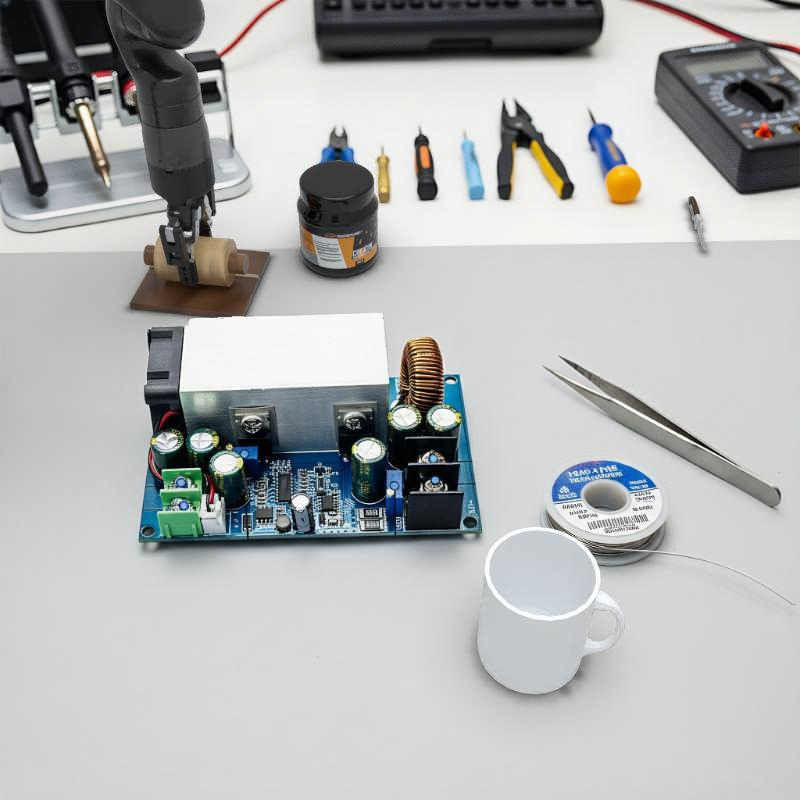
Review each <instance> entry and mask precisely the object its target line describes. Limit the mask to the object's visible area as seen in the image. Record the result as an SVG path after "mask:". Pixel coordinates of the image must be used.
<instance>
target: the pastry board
mask: <svg viewBox="0 0 800 800" xmlns="http://www.w3.org/2000/svg"><path fill="white" fill-rule="evenodd" d="M237 253H240V254H247V255H248V257H249V268H248V272H247V274H246V275H241V274H236V275H235V279H234V281H233V284H232V285H231V286H230V287H225V286H215V285H205V284H197V285H196V286H188V285H182V284H181V283H180V282H175V281H165V280H159V279H158V278H157V276H156V274H155V270H154V266H150V265H149V269H148V270H147V272H146V274H145V276H144V277H143V279H142V280H141V283H140V284H139V286H138V288H137V289H136V291H135V293H134V294H133V296H132V298H131V300H130V302H129V305H130V306H129V307H130V309H131V310H137V311H145V312H157V313H165V314H176V315H187V316H196V317H205V318H214V317H232V316H245V317H246V315H247V313H248V310H249V308H250V306H251V304H252V301H253V299H254V297H255V294H256V292H257V289H258V288H259V285H260V283H261V280H262V278H263V276H264V273H265V271H266V269H267V266H268V265H269V262H270V259H271V253H270V251H262V250H253V249H252V250H251V249H238V248H237Z"/></svg>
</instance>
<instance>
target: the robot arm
mask: <svg viewBox="0 0 800 800" xmlns="http://www.w3.org/2000/svg"><path fill="white" fill-rule="evenodd" d="M105 12H106V18H107V23H108V26H109V28H110V32H111V34H112V37H113V39H114V42H115V44H116V46H117V48H118V51H119V53H120V55H121V59H122V60H123V62H124V64H125V66H126V68H127V70H128V73H129V74H130V77H131V78H132V80H133V83H134V86H135V91H136V92H135V93H136V99H137V104H138V110H139V115H140V120H141V121H140V122H141V136H142V137H141V138H142V143H143V147H144V152H145V153H144V154H145V160H146V165H147V170H148V175H149V179H150V185H151V189H152V191H153V192H154V193H155V194H156V195H158V196H159V197H161V198H162V199H163V200H164V201H165V202H166V203H167V204H166V218H167V219H168V220H167V221H168V222H167V225H166V224H160V225H159V228H158V234H159V235H160V239H161V242H162V246H163V250H164V254H165V257H166V261H167V265H170V266H172V265H173V266H177V268H178V273H179V279H180V283H181V284H182V285H188V286H196V285H197V283H198V281H199V279H198V273H197V267H196V261H195V243H197V242H198V241H199V236H205V237H213V234H212V233H213V232H212V228H213V225H214V221H213V219H212V217H216V214H217V205H216V195H215V184H216V174H215V173H216V172H215V166H214V159H213V158H214V157H213V152H212V145H211V138H210V131H209V126H208V122H207V119H206V116H205V111H204V105H203V104H204V103H203V96H202V90H201V82H200V78H199V77H200V76H199V74H198V72H197V71H198V70H197V69H196V67H195V66H194V64H193V63H191V61H189V60H188V59H187V58H186V57H184V56H182V55H181V54H180V53H179V52H178V51H181V50H184V49H185V50H186V49H187V48H189V47H191V46H192V45H194V44H195V43H196V42H197V41H198V40H199V39H200V37H201V35H202V33H203V32H204V27H205V23H206V22H205V21H206V12H205V7H204V3H203V0H105ZM186 233H191V234H190V235H191V236H184V235H186ZM159 235H158V236H159ZM186 244H188V251H187V247H186Z"/></svg>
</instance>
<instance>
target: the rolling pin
mask: <svg viewBox="0 0 800 800" xmlns="http://www.w3.org/2000/svg"><path fill="white" fill-rule="evenodd" d="M191 235H192V234H185V235H184V236H191ZM155 241H156V242H155V244H146V245H145V247H144V249H143V255H142V256H143V262H144V265H145V266H149V267H150V266H154V270H155V274H156V276H157V278H158V279H159V280H165V281H175V282H180V279H179V273H178V268H177V266H173V265H172V266H170V265H167V261H166V257H165V254H164V250H163V246H162V242H161V239H160V235H158V237H157V238H156V240H155ZM186 247H187V251H188V244H186ZM237 249H238V247H237V242H236V241H235V239H233V238H226V237H225V238H224V237H214V236H212V237H205V236H199V241H198V242H197V243H195V261H196V267H197V273H198V279H199V281H198V283H197V284H205V285H215V286H225V287H230V286H231V285H232V284H233V281H234V279H235V275H236V274H241V275H246V274H247V272H248V268H249V257H248V255H247V254H240V253H237Z"/></svg>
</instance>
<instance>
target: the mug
mask: <svg viewBox="0 0 800 800" xmlns="http://www.w3.org/2000/svg"><path fill="white" fill-rule="evenodd" d="M600 586H601V570H600V568H599V565H598V563H597V560H596V557H595V556H594V555H593V553H591V551H590V549H589V548H588V547H587V546H585V544H583V543H582V542H581V541H580V540H579V539H577V538H575V537H573V536H572V535H570V534H568V533H567V532H564V531H561V530H558V529H554V528H551V527H542V526H532V527H524V528H520V529H519V528H518V529H516V530H513V531H511V532H510V531H509V532H508V533H507V534H505V535H504V536H502V537H500V538H498V540H497V541H496V542H495V543H494V544H493V545H492V547H491V548H490V549H489V551H488V553H487V556H486V559H485V564H484V573H483V584H482V592H481V601H480V611H479V618H478V619H479V620H478V629H477V641H476V642H477V650H478V655H479V659H480V663H482V666H483V667H484V669H485V671H486V672H487V673H488V674H489V675H490V676H491V677H492V678H493V679H494V680H495V681H496V682H497V683H499V684H500V685H502V686H504V687H505V688H507V689H508V690H512V691H515V692H518V693H521V694H529V695H541V694H548V693H549V694H550V693H552V692H554V691H557V690H559V689H561V688H563V687H564V686H565V685H567V684H568V683H569V682H570V681H571V680H572V679H573V678H574V676H575V675H576V673H577V672H578V670H579V667H580V665H581V662H582V660H583V657H585V656H588V655H591V654H602V653H605V652H608V651H610V650H612V649H613V648H614V647H615V646H616V645H617V644H618V643H619V642H620V640H621V638H622V637H623V635H624V632H625V627H626V619H625V615H624V612H623V610H622V607H621V606H620V605H619V604H618V602H616V600H614V598H612V597H611V596H610V595H608V594H607V593H606V592H605V591H601V590H600ZM597 611H598V612H609V613H611V615H612V616H613V617H614V618H615V628H614V632H613V633H612V634H611V636H610V637H608V638H606V639H605V640H601V641H595V640H592V639H591V637H589V633H590V628H591V623H592V620H593V617H594V616H593V615H594V612H597Z"/></svg>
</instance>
